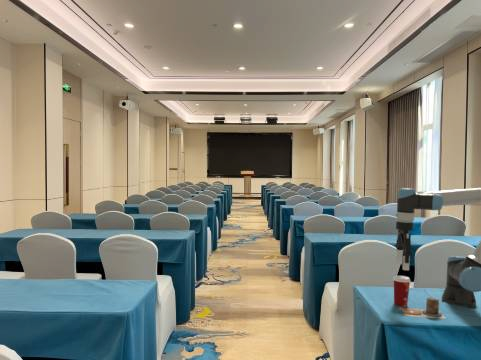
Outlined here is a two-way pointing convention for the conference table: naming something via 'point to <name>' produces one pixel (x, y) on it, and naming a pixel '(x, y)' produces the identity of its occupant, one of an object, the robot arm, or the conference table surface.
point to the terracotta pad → (411, 311)
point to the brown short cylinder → (432, 306)
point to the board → (422, 314)
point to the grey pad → (432, 314)
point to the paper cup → (401, 290)
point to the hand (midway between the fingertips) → (402, 266)
